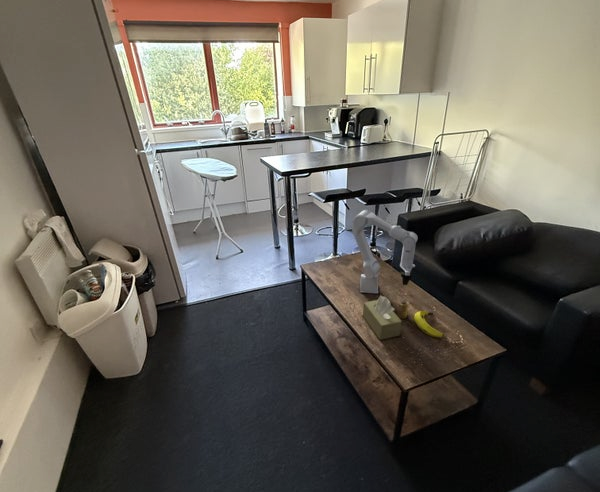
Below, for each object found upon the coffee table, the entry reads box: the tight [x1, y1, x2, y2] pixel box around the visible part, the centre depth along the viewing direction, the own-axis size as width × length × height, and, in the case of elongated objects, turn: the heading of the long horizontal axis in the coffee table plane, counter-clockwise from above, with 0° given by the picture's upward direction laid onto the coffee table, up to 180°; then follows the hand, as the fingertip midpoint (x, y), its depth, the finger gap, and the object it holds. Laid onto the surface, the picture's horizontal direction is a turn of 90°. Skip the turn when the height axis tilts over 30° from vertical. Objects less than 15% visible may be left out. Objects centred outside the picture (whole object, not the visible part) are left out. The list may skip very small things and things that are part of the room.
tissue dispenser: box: [362, 295, 403, 340], centre depth 144 cm, size 19×10×16 cm, turn 15°
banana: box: [413, 310, 445, 339], centre depth 146 cm, size 5×17×15 cm
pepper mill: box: [396, 299, 410, 320], centre depth 152 cm, size 5×5×9 cm
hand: (404, 280), depth 162 cm, fingers open, 7 cm apart
